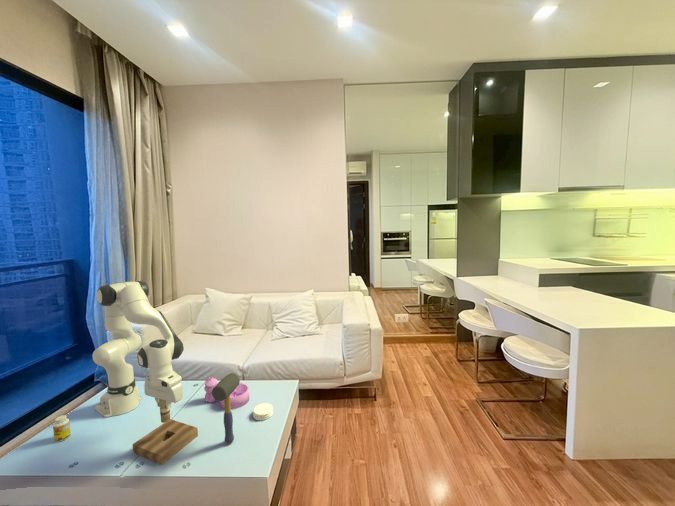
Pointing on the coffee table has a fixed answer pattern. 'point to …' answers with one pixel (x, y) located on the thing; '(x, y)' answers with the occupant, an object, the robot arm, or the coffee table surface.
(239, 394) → the container set
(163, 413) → the maple dowel
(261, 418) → the cream round disc
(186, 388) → the coffee table surface
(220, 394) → the rubber mallet
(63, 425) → the supplement bottle
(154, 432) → the walnut board
